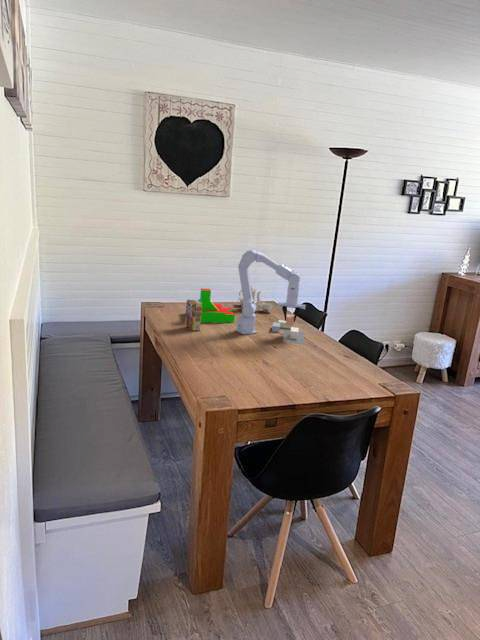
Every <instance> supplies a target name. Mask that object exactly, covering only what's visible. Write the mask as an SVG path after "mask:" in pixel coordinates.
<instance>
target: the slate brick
mask: <svg viewBox="0 0 480 640" xmlns="http://www.w3.org/2000/svg"><path fill="white" fill-rule="evenodd" d="M271 328H272V329H271V332H272V333H280V330H281V328H280V323H278V322H275V321H274V322H272V327H271Z"/></svg>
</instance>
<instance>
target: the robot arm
mask: <svg viewBox="0 0 480 640" xmlns="http://www.w3.org/2000/svg"><path fill="white" fill-rule="evenodd" d="M254 262H255V263H263V264H264V265H266V266H268V267H270V268H271V269H273V270H274V271H275V274H276V275H278V276H279V277H281V278H282V279H285V281H287V282H288V286H287V292H286V302H280V301H279V302H277V307H279V308H280V307H281V308H282V312H283V316H284V321H286V316H287V314H288V313H287V312H288V308H292V309H294V314H293V315H294V323H295V322H296V318H297V316H299V313H300V312H301V309H302V310H306V304H301V303H298V300H299V298H298V297H299V290H300V287H299V286H300V281H301V275H300V273H299V272H298V271H295V270H294V269H290V268H289V267H287V265H286V264H283V263H281V264H278V263H277V262H275V261H274V260H273V259H272V258H270V257H268V256H267V255H266V254H264V253H263V252H261V251H258V250H257V249H255V248H251V249H249V250H247V251H245V252H244V253H243V254H242V255H241V259H240V261H239V263H238V266H237V268H238V274H239V281H240V286H241V290H242V291H241V293H242V297H243V309H242V308H241V309H242V310H241V312H242V314H241V315H240V316H238V317H237V318H236V326H235V327H236V329H235V331H236V332H238V333H240V334H242V335H249V334H257V333H258V331H257V330H255V327H256V318H257V317H256V314H255V312H256V311H257V310H258V309H257V306H256V304H255V303H254V299H253V297H252V291H251V286H252V284H251V279H250V273H249V267H250V266H251V265H252V264H253V263H254Z"/></svg>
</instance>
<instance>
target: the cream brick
mask: <svg viewBox="0 0 480 640" xmlns="http://www.w3.org/2000/svg"><path fill="white" fill-rule="evenodd" d="M299 329H300V328H299V327H295V326H292V327H291V329H290V331H291V332H290V339H298V333H299V332H300V331H299Z"/></svg>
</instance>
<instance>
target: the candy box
mask: <svg viewBox="0 0 480 640" xmlns="http://www.w3.org/2000/svg"><path fill="white" fill-rule="evenodd" d="M201 311H202V303H201V302H198V300H196V299H193V298H192V299H191V298H190V299H186V307H185V322H184V325H185V326H186V327H188V328H190V329H192V330H191V331H193V330H194V331H193V332H196V331H195V330H200V331H201ZM185 326H184V327H185ZM186 327H185V328H186ZM188 328H187V329H188ZM190 329H189V330H190Z"/></svg>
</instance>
